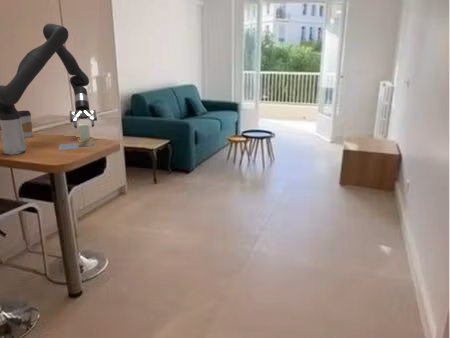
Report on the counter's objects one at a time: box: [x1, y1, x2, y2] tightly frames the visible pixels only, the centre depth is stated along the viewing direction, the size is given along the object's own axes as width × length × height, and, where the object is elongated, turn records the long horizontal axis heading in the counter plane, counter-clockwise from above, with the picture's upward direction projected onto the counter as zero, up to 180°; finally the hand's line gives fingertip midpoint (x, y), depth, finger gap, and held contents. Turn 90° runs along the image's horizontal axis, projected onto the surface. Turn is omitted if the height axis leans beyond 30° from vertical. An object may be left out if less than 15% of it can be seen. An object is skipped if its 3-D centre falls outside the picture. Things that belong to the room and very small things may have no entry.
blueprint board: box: [58, 140, 96, 151], centre depth 198 cm, size 18×12×1 cm, turn 110°
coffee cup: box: [17, 110, 34, 139], centre depth 219 cm, size 8×8×15 cm
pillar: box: [78, 123, 91, 141], centre depth 197 cm, size 4×4×9 cm
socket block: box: [77, 136, 94, 147], centre depth 199 cm, size 8×8×3 cm
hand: (84, 126), depth 206 cm, fingers open, 8 cm apart
